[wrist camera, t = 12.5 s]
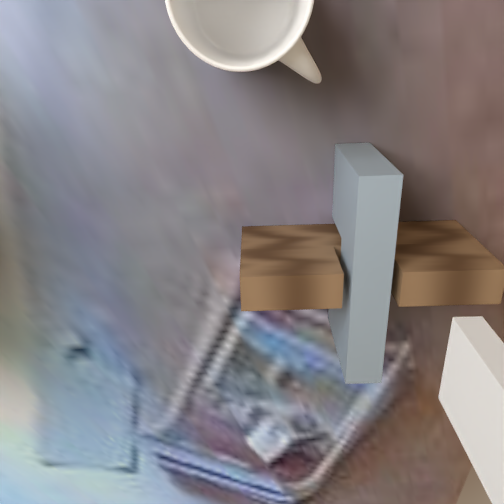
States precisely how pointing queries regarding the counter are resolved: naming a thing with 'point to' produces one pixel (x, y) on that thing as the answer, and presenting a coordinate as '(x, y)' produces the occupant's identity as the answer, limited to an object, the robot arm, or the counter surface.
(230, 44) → the mug
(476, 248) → the walnut board
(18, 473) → the counter surface
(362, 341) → the grey flat rectangular block
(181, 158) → the counter surface
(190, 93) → the counter surface
